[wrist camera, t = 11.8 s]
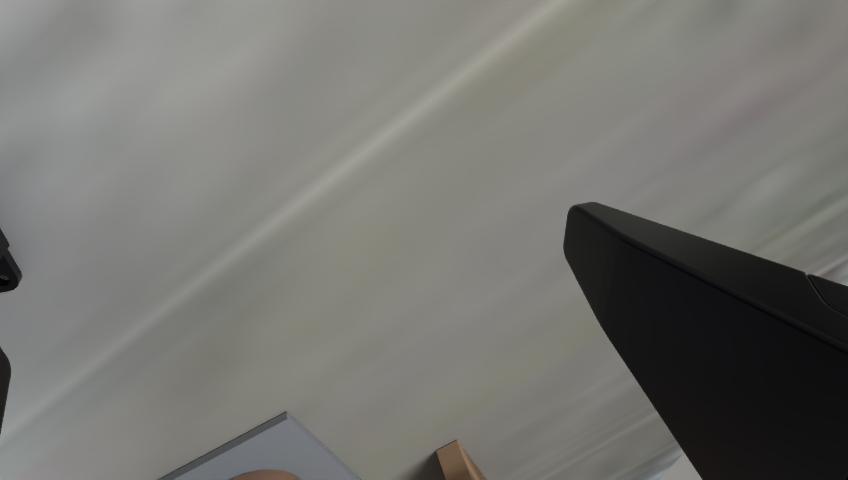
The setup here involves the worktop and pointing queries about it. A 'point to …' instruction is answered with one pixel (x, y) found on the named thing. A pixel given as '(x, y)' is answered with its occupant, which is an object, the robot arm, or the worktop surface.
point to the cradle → (458, 463)
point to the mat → (268, 455)
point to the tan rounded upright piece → (267, 475)
